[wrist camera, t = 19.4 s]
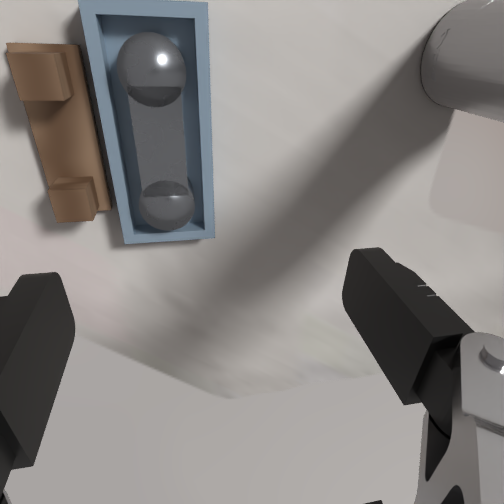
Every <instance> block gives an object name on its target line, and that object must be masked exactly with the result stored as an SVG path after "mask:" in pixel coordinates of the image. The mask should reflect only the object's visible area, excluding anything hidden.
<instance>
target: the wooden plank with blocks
mask: <svg viewBox="0 0 504 504" xmlns="http://www.w3.org/2000/svg"><path fill="white" fill-rule="evenodd" d="M6 45H7V48H8V52H9V53H6V55H7V59H8V62H9V65H10V69H11V72H12V75H13V78H14V82H15V85H16V88H17V92H18V95H19V98H20V101H23V102H24V105H25V109H26V112H27V115H28V119H29V122H30V125H31V129H32V132H33V135H34V139H35V142H36V146H37V149H38V152H39V156H40V159H41V162H42V166H43V169H44V172H45V176H46V179H47V182H48V186H49V189H48V194H49V198H50V201H51V204H52V208H53V211H54V214H55V218H56V221H57V223H61V222H79V221H93V220H94V218H95V215H96V213H97V211H102V210H111V209H112V202H111V197H110V192H109V187H108V182H107V177H106V172H105V167H104V162H103V157H102V152H101V147H100V142H99V138H98V133H97V128H96V123H95V118H94V113H93V108H92V103H91V98H90V93H89V88H88V83H87V78H86V73H85V68H84V63H83V58H82V53H81V48H80V45H71V44H36V43H6Z"/></svg>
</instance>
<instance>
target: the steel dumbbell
mask: <svg viewBox="0 0 504 504" xmlns="http://www.w3.org/2000/svg"><path fill="white" fill-rule="evenodd" d="M117 73H118V77H119V80H120V82H121V84H122V86H123V88H124V89H125V91H126V92H127V93H128V99H129V106H130V113H131V119H132V126H133V133H134V139H135V146H136V153H137V159H138V166H139V173H140V180H141V186H142V189H141V194H140V199H139V210H140V213H141V215H142V217H143V219H144V220H145V221H146V222H147V223H148V224H149V225H151V226H152V227H154V228H157V229H160V230H166V231H170V230H176V229H179V228H181V227H183V226H185V225H186V224H187V223H188V222H189V221H190V220H191V218H192V217H193V214H194V211H195V202H194V194H193V187H192V184H191V182H190V180H189V179H188V177H187V166H186V153H185V139H184V126H183V112H182V99H181V93H182V91H183V89H184V86H185V82H186V67H185V63H184V60H183V57H182V55H181V53H180V51H179V49H178V48H177V46H176V45H175V44H174V43H173V42H172V41H171V40H170V39H168V38H167V37H165V36H164V35H161V34H158V33H154V32H142V33H138V34H135V35H133V36H131V37H130V38H128V39H127V40H126V41H125V42H124V43H123V45H122V46H121V48H120V50H119V53H118V57H117Z"/></svg>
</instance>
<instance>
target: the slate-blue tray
mask: <svg viewBox="0 0 504 504" xmlns="http://www.w3.org/2000/svg"><path fill="white" fill-rule="evenodd" d="M78 4H79V9H80V14H81V19H82V24H83V29H84V35H85V40H86V45H87V50H88V55H89V61H90V66H91V71H92V76H93V81H94V87H95V92H96V97H97V102H98V107H99V113H100V118H101V123H102V128H103V133H104V139H105V144H106V149H107V154H108V159H109V165H110V170H111V175H112V180H113V185H114V191H115V196H116V201H117V206H118V211H119V217H120V222H121V227H122V232H123V237H124V243H125V244H134V243H149V242H164V241H179V240H193V239H208V238H215V223H214V191H213V158H212V126H211V93H210V61H209V29H208V2H190V1H171V0H78ZM142 32H154V33H158V34H161V35H164V36H165V37H167V38H168V39H170V40H171V41H172V42H173V43H174V44H175V45H176V46H177V48H178V49H179V51H180V53H181V55H182V57H183V60H184V63H185V67H186V82H185V86H184V89H183V91H182V93H181V99H182V112H183V126H184V139H185V153H186V166H187V177H188V179H189V180H190V182H191V184H192V187H193V194H194V202H195V211H194V214H193V217H192V218H191V220H190V221H189V222H188V223H187V224H186V225H185V226H183V227H181V228H179V229H176V230H170V231H166V230H160V229H157V228H154V227H152V226H151V225H149V224H148V223H147V222H146V221H145V220H144V219H143V217H142V215H141V213H140V210H139V199H140V194H141V189H142V186H141V180H140V173H139V166H138V159H137V153H136V146H135V139H134V133H133V126H132V119H131V113H130V106H129V99H128V93H127V92H126V91H125V89H124V88H123V86H122V84H121V82H120V80H119V77H118V73H117V57H118V53H119V50H120V48H121V46H122V45H123V43H124V42H125V41H126V40H127V39H128V38H130V37H131V36H133V35H135V34H138V33H142Z"/></svg>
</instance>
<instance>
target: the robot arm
mask: <svg viewBox="0 0 504 504" xmlns="http://www.w3.org/2000/svg"><path fill="white" fill-rule="evenodd" d="M421 78H422V83H423V87H424V89H425V91H426V93H427V95H428V96H429V97H430V98H431V100H433V101H434V102H436V103H437V104H439V105H443V106H447V107H450V108H454V109H457V110H461V111H465V112H468V113H471V114H475V115H478V116H482V117H486V118H490V119H493V120H497V121H500V122H504V0H467V1H464V2H462V3H460V4H459V5H457V6H456V7H454V8H453V9H452V10H450V11H449V12H448V13H447V14H446V15H445V16H444V17H443V18H442V19H441V21H440V22H439V23H438V25H437V26H436V28H435V29H434V30H433V32H432V34H431V36H430V38H429V40H428V42H427V45H426V47H425V50H424V53H423V58H422V64H421ZM342 300H343V305H344V308H345V311H346V312H347V314H348V316H349V317H350V319H351V321H352V322H353V324H354V325H355V327H356V329H357V330H358V332H359V333H360V335H361V337H362V338H363V340H364V342H365V343H366V345H367V346H368V348H369V350H370V351H371V353H372V354H373V356H374V358H375V359H376V361H377V363H378V364H379V366H380V367H381V369H382V371H383V372H384V374H385V376H386V377H387V379H388V380H389V382H390V384H391V385H392V387H393V388H394V390H395V392H396V393H397V395H398V396H399V398H400V400H401V401H402V403H403V404H404V405H409V404H415V403H421V402H422V403H423V405H424V406H425V408H426V409H427V410H426V412H425V415H424V418H423V428H422V441H421V453H420V466H419V480H418V489H417V495H416V499H415V502H414V504H504V339H503V338H501V337H498V336H495V335H492V334H488V333H481V332H474V331H473V330H472V329H471V328H470V327H469V326H468V325H467V324H466V323H465V322H464V321H463V320H462V319H461V318H460V317H459V316H458V315H457V314H456V313H455V312H454V311H453V310H452V309H451V308H450V307H449V306H448V305H447V304H446V303H445V302H444V301H443V300H442V299H441V298H440V297H439V296H436V293H435V292H434V291H433V290H432V289H431V288H430V287H429V286H426V283H425V282H424V281H423V280H422V279H421V278H420V277H419V276H418V275H417V274H416V273H415V272H413V271H412V270H410V269H408V268H407V267H405V266H403V265H401V264H400V263H395V262H394V261H393V260H392V259H391V258H390V256H389V255H388V254H387V253H386V252H385V251H384V250H383V249H381V248H379V247H377V248H365V249H354V250H353V251H352V252H351V254H350V258H349V262H348V267H347V272H346V276H345V281H344V286H343V290H342ZM74 337H75V321H74V316H73V313H72V310H71V307H70V304H69V301H68V298H67V295H66V292H65V289H64V286H63V283H62V280H61V277H60V275H59V274H58V273H56V272H50V273H38V274H25V275H22V276H20V277H19V279H18V280H17V282H16V284H15V285H14V287H13V288H12V290H11V291H10V293H9V295H8V296H3V297H0V504H12V503H11V501H10V499H9V497H8V495H7V493H6V491H5V490H4V487H5V485H6V482H7V479H8V477H9V474H10V471H11V470H12V469H19V468H25V467H31V466H33V465H34V462H35V459H36V456H37V452H38V450H39V447H40V444H41V440H42V437H43V434H44V431H45V428H46V425H47V422H48V419H49V416H50V413H51V410H52V407H53V403H54V400H55V397H56V394H57V391H58V388H59V385H60V382H61V378H62V376H63V373H64V369H65V366H66V363H67V360H68V357H69V354H70V351H71V348H72V345H73V342H74ZM366 504H383V503H382V501H381V500H379V501H374V502H370V503H366Z"/></svg>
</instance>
